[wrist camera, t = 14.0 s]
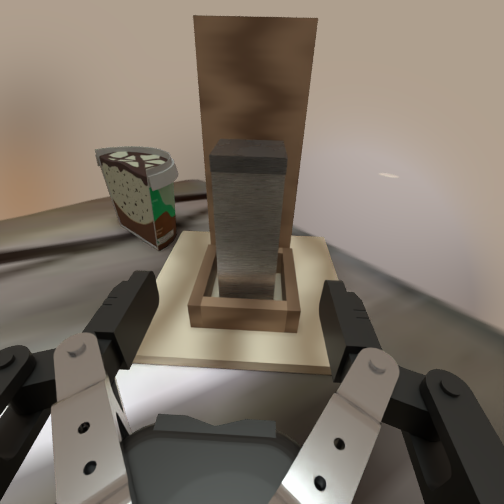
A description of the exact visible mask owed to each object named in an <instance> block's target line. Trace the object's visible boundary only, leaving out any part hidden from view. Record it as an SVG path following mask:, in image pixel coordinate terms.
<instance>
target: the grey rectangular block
mask: <svg viewBox="0 0 504 504" xmlns="http://www.w3.org/2000/svg"><path fill="white" fill-rule="evenodd" d="M209 161H210V172H211V177H212V192H213V208H214V224H215V239H216V255H217V270H218V286H219V297H222V298H241V299H261V300H274V290H275V279H276V269H277V258H278V247H279V237H280V226H281V215H282V205H283V194H284V184H285V175H286V172H287V162H288V156H287V153H286V149H285V145H284V141H273V140H243V139H220V140H219V141H218V143H217V144H216V146H215V147H214V149H213V150H212V152H211V153H210V154H209Z"/></svg>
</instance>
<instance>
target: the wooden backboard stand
mask: <svg viewBox="0 0 504 504" xmlns="http://www.w3.org/2000/svg"><path fill="white" fill-rule="evenodd" d="M193 19H194V31H195V32H194V33H195V46H196V59H197V71H198V84H199V96H200V111H201V124H202V137H203V150H204V163H205V176H206V189H207V202H208V215H209V228H210V232H198V231H182V233H181V235H180V237H179V239H178V241H177V242H176V244H175V246H174V248H173V250H172V252H171V254H170V255H169V257H168V259H167V261H166V263H165V265H164V267H163V268H162V270H161V272H160V274H159V276H158V278H157V280H156V284H157V288H158V292H159V306H158V309H157V311H156V313H155V315H154V317H153V319H152V322H151V324H150V326H149V328H148V330H147V332H146V335H145V337H144V339H143V341H142V343H141V345H140V347H139V350H138V352H137V354H136V356H135V358H134V360H133V363H142V364H158V365H175V366H192V367H208V368H225V369H242V370H258V371H275V372H292V373H308V374H325V375H332V374H331V369H330V365H329V360H328V355H327V351H326V346H325V341H324V337H323V332H322V327H321V323H320V318H319V302H320V298H321V294H322V289H323V285H324V281H325V280H338V278H337V275H336V272H335V269H334V266H333V263H332V260H331V257H330V254H329V251H328V248H327V245H326V242H325V239H324V237H309V236H291V234H292V226H293V218H294V210H295V202H296V194H297V185H298V177H299V169H300V160H301V153H302V145H303V137H304V129H305V120H306V112H307V104H308V96H309V88H310V79H311V71H312V63H313V55H314V47H315V39H316V31H317V23H318V18H289V17H287V18H286V17H243V16H241V17H240V16H197V15H194V16H193ZM220 139H243V140H273V141H284V145H285V149H286V153H287V156H288V162H287V172H286V175H285V184H284V194H283V205H282V215H281V226H280V237H279V247H278V258H277V269H276V279H275V290H274V300H261V299H241V298H222V297H219V286H218V270H217V255H216V239H215V224H214V208H213V192H212V177H211V172H210V161H209V154H210V153H211V152H212V150H213V149H214V147H215V146H216V144H217V143H218V141H219V140H220Z"/></svg>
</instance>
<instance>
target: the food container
mask: <svg viewBox="0 0 504 504" xmlns="http://www.w3.org/2000/svg"><path fill="white" fill-rule="evenodd" d="M95 152H96V159H97V163H98V166H100V167H101V170H102V173H103V176H104V179H105V182H106V185H107V188H108V191H109V194H110V197H111V200H112V203H113V206H114V209H115V212H116V215H117V218H118V221H119V224H120V226H122V227H123V228H125V229H126V230H128V231H129V232H131V233H132V234H134V235H135V236H137V237H138V238H140V239H141V240H143V241H144V242H146V243H147V244H149V245H150V246H152V247H153V248H155V249H156V250H158V251H159V250H161V249H163V248H165V247H167V246H168V245H169V244H170V243H171V242H172V241H173V240H174V239H175V237H176V235H177V234H176V218H175V202H174V186H173V182H174V181H175V180H176V179H177V177H178V171H177V168H176V165H175V163H174V160H173V159H172V158H171V155H170V154H169V153H168V152H166V151H164V150H161V149H157V148H151V147H135V146H131V147H129V146H128V147H127V146H125V147H110V148H102V149H95Z"/></svg>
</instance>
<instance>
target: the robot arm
mask: <svg viewBox="0 0 504 504" xmlns="http://www.w3.org/2000/svg"><path fill="white" fill-rule="evenodd" d="M158 306H159V292H158V288H157V284H156V279H155V275H154V273H153V272H152V271H135V272H134V273H133V274H132V276H131V277H130V279H129V280H128V281H122V282H121V283H120V284H118V285H117V286H116V287H114V288H113V290H112V291H111V292H110V294H109V295H108V298H106V299H105V301H104V302H103V305H102V306H100V308H99V309H98V311H97V312H96V314H95V315H94V316H93V318H92V319H91V321H90V322H89V323H88V325H87V326H86V328H85V329H84V330H83V332H82V333H78V334H75V335H73V336H70V337H69V338H67V339H65V340H64V341H63V342H62V343H60V345H59V346H58V347H57V348H55V349H51V350H46V351H41V352H37V353H31V352H30V350H29V349H28V348H27V347H25V346H22V345H16V346H11V347H8V348H5V349H3V350H1V351H0V415H1V413H2V412H3V411H4V409H5V408H6V406H7V405H8V406H9V407H8V408H7V409H6V411H5V412H4V413H3V415H2V416H1V418H0V501H1V499H2V497H3V495H4V494H5V492H6V490H7V488H8V487H9V485H10V483H11V482H12V480H13V478H14V476H15V475H16V473H17V471H18V469H19V468H20V466H21V464H22V462H23V461H24V459H25V457H26V456H27V454H28V452H29V450H30V449H31V447H32V445H33V443H34V442H35V440H36V438H37V436H38V435H39V433H40V431H41V430H42V428H43V426H44V424H45V423H46V421H47V419H48V417H49V416H50V414H51V421H52V437H53V453H54V469H55V485H56V501H57V503H56V504H351V502H352V500H353V497H354V494H355V492H356V489H357V487H358V484H359V482H360V479H361V477H362V474H363V471H364V469H365V466H366V464H367V461H368V459H369V456H370V454H371V451H372V448H373V446H374V443H375V441H376V438H377V436H378V433H379V430H380V427H381V422H383V423H386V424H388V425H391V426H393V427H396V428H398V429H401V431H402V434H403V437H404V440H405V443H406V446H407V450H408V453H409V456H410V459H411V462H412V465H413V468H414V471H415V474H416V478H417V481H418V484H419V487H420V490H421V493H422V496H423V499H424V502H425V504H504V446H503V444H502V442H501V441H500V439H499V437H498V435H497V434H496V432H495V430H494V429H493V427H492V425H491V423H490V422H489V420H488V418H487V416H486V415H485V413H484V411H483V410H482V408H481V406H480V404H479V403H478V401H477V399H476V398H475V396H474V394H473V392H472V391H471V389H470V388H469V387H468V385H467V384H466V383H465V382H464V381H463V380H461V379H460V378H459V377H457V376H456V375H454V374H452V373H450V372H448V371H445V370H440V369H434V370H431V371H429V372H428V373H427V375H423V374H420V373H417V372H414V371H411V370H408V369H405V368H402V367H400V366H398V365H397V363H396V361H395V360H394V359H393V358H392V357H391V356H390V355H389V354H387V353H386V352H384V351H383V350H382V348H381V346H380V343H379V341H378V338H377V336H376V334H375V331H374V329H373V326H372V324H371V322H370V320H369V317H368V314H367V312H366V310H365V307H364V305H363V302H362V300H361V299H360V298H359V297H358V296H357V295H356V294H355V293H354V292H347V291H346V288H345V286H344V283H343V281H340V280H325V281H324V285H323V289H322V294H321V298H320V302H319V318H320V323H321V327H322V332H323V337H324V341H325V346H326V351H327V355H328V360H329V365H330V369H331V374H332V379H333V382H336V383H342V384H341V385H340V387H339V389H338V390H337V392H335V393H334V394H333V396H332V397H331V399H330V401H329V402H328V404H327V406H326V408H325V409H324V411H323V413H322V414H321V416H320V418H319V420H318V421H317V423H316V425H315V426H314V428H313V430H312V432H311V433H310V435H309V437H308V438H307V440H306V442H305V444H304V445H303V447H301V446H300V445H299V444H298V443H297V442H296V441H295V440H293V439H292V438H290V437H289V436H288V435H286V434H284V433H282V432H280V431H277V430H276V425H275V421H267V420H250V419H245V420H241V421H236V422H232V423H228V424H223V425H219V426H214V425H210V424H208V423H205V422H202V421H200V420H197V419H194V418H192V417H189V416H185V415H169V414H158V416H157V419H156V423H154V424H151V425H148V426H145V427H143V428H141V429H139V430H137V431H135V432H134V433H132V430H131V428H130V425H129V422H128V420H127V416H126V413H125V409H124V406H123V402H122V398H121V395H120V391H119V388H118V384H117V380H116V378H115V376H116V374H117V372H118V370H119V369H123V370H129V369H130V367H131V365H132V363H133V360H134V358H135V356H136V354H137V352H138V350H139V347H140V345H141V343H142V341H143V339H144V337H145V335H146V332H147V330H148V328H149V326H150V324H151V322H152V319H153V317H154V315H155V313H156V311H157V309H158Z"/></svg>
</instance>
